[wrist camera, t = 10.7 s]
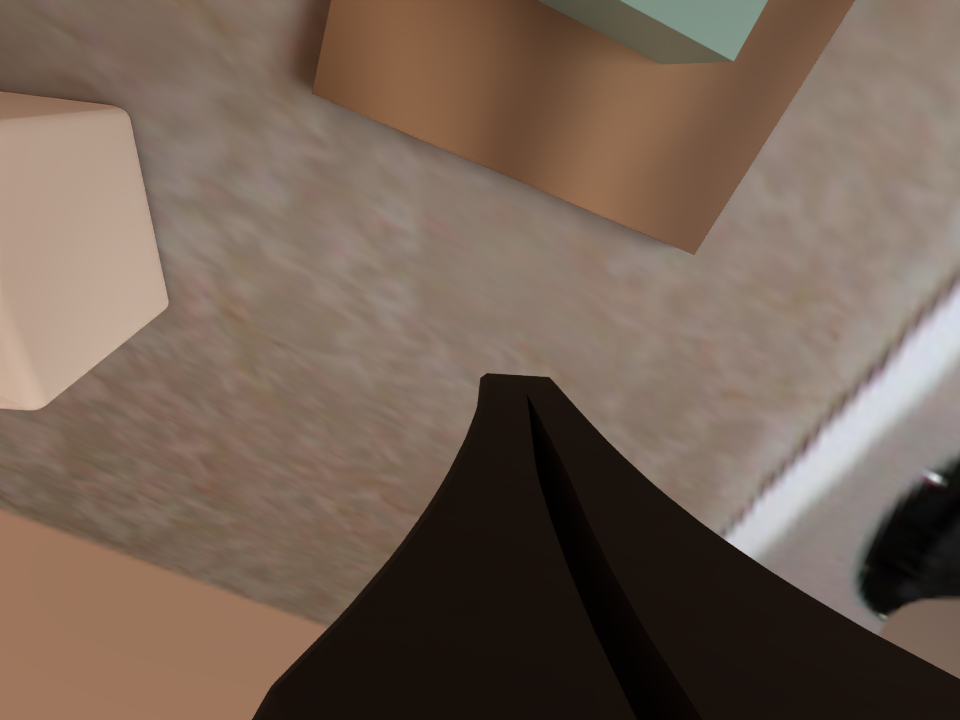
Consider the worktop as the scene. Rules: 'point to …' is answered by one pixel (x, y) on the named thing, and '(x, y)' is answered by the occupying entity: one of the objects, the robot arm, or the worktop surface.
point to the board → (575, 100)
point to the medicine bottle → (69, 244)
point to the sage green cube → (670, 26)
